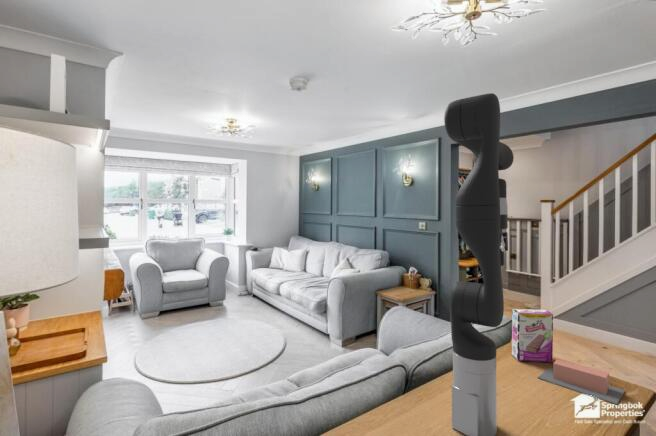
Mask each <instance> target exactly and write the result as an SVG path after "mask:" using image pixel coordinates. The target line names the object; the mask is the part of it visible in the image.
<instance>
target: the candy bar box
mask: <svg viewBox="0 0 656 436" xmlns="http://www.w3.org/2000/svg"><path fill="white" fill-rule="evenodd" d="M553 339H554V314H553V312H550V311H548V310H546V309H530V308H529V309H528V308H524V309H523V308H512V309H511V356H512V357H513V358H514V359H515V360H516V361H518V362H530V363H531V362H532V363H534V362H538V363H539V362H540V363H553V355H554V353H553V351H554V349H553V347H554V345H553V343H554V342H553V341H554V340H553Z"/></svg>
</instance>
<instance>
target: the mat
mask: <svg viewBox="0 0 656 436" xmlns="http://www.w3.org/2000/svg"><path fill="white" fill-rule="evenodd" d="M538 378H539V380H541V379H542V380H541V381H543V382H544V381H545V382H547V383H551V384H554V385H557V386H559V387H562V388H565V389H569V390H571V391H574V392H576V393H580V394H583V395H586V394H588V395H587V396H589V395H592V396H595V397H597V398H596V399H598V398H599V399H598V400H601V401H605V402H607V403H610V404H612V405H616V406H617V405H618V403H619V402H620V401H621V398H622V397H623V396H624V394H625V392H626V390H625V389H622V388H619V387H616V386H612V385H609V390H608V392H607V394H606V395H605V394H602V393H599V392H596V391H592V390H589V389H586V388H583V387H580V386H576V385H573V384H570V383H567V382H564V381H560V380H557V379H554V378H553V367H550V366H549V367H548V368H547V369H545V370H544V371H543V372H542V373H541V374H539V376H537V379H538ZM592 396H591V397H592ZM595 397H594V398H595Z"/></svg>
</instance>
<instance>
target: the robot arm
mask: <svg viewBox="0 0 656 436" xmlns="http://www.w3.org/2000/svg"><path fill="white" fill-rule="evenodd" d="M500 106H501V105H500V101H499V98H498V96H497V95H496V94H495V93H493V92H492V93H491V92H490V93H483V94H479V95H474V96H470V97H469V96H468V97H464V98H459V99H456V100H453V101H451V102H449V103H448V104H447V105H446V107H445V110H444V119H443V120H444V123H443V124H444V128H445V132H446V134H447V136H448V137H449V139H450V140H452V141H453V142H455V143H457V144H459V145H460V146H462V147H464V148H466V149H467V150H468V151H470V152H472V154H473V155H474V157H473V162H474V165H473V167H472V169H471V170H470V172H469V173H468V175H467V176H466V178H465V179H464V181H463V183H462V184H461V186H460V188H459V189H458V191H457V193H456V196H455V198H454V199H455V200H454V201H455V202H454V206H455V208H454V209H455V210H454V211H455V226H456V230H457V232H458V233H459V236H460V237H461V238H462V240H463V242H464V243H465V244H466V246H467V248H468V249H469V250H470V252H471V253H472V255H473V257H474V259H475V260H476V262H477V264H478V266H479V269H480V271H481V277H482V282H483V283H478V282H472V281H471V282H470V281H464V280H463V281H456V282H454V284H453V285H452V286H451V289H450V293H449V314H450V331H451V332H450V333H451V334H450V335H451V341H452V342H451V343H452V386H451V428H452V429H454V430H456V431H458V432H460V433H461V434H463V435H465V436H496V434H497V432H498V431H497V430H498V427H497V426H498V424H497V423H498V420H497V419H498V417H497V411H498V408H497V407H498V406H497V405H498V404H497V401H498V400H497V397H498V396H497V345H496V342H495V341H494V340H493V339H492V338H490V337H488V336H487V335H485V334H483V333H482V332H480V331H479V330H478V329H477V328H475V327H474V326H473V325H478V326H484V327H490V328H498V327H499V326H500V325H501V324H502V322H503V317H504V313H505V312H504V309H505V304H504V303H505V302H504V289H503V277H502V267H503V266H505V254H506V252H508V250H509V241H508V240H509V239H508V231H503V230H508V227H509V226H508V223H509V222H508V220H509V219H508V217H509V214H508V212H509V211H508V210H509V209H508V208H509V207H508V199H507V181H506V180H505V179H503V178H500V176H499V175H500V174H499V171H506V170H508V169H509V168H511V166H512V165H513V163H514V153H513V151H512V149H511V147H510V146H509V145H507V144H506V143H504V142H501V141H500V137H501V136H500V135H501V134H500V133H501V132H500V131H501V107H500Z"/></svg>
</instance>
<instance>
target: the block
mask: <svg viewBox="0 0 656 436" xmlns="http://www.w3.org/2000/svg"><path fill="white" fill-rule="evenodd" d="M552 363H553V364H552V365H553V367H552V368H553V378H554V379H557V380H560V381H564V382H567V383H570V384H573V385H576V386H580V387H583V388H586V389H589V390H592V391H596V392H599V393H602V394H605V395H606V394H607V392H608V390H609V386H610V372H609V371H604V370H601V369H596V368H593V367H590V366H585V365H583V364H579V363H575V362H571V361H567V360H563V359H560V358H557V359H556V360H555V361H553V362H552Z"/></svg>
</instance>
